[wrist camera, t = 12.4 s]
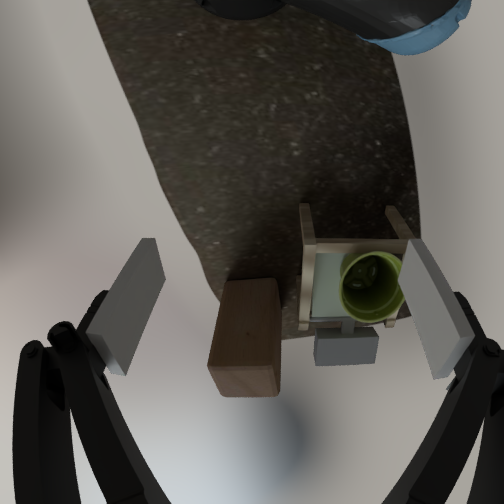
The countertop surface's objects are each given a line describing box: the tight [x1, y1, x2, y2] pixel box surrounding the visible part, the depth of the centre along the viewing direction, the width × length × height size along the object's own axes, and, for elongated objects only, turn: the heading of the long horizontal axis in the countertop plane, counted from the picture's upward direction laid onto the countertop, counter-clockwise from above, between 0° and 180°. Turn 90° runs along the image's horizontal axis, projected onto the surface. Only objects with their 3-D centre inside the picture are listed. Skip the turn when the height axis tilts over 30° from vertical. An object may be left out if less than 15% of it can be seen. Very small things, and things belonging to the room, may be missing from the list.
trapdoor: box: [310, 253, 391, 366], centre depth 46 cm, size 20×12×4 cm, turn 2°
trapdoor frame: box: [296, 203, 416, 330], centre depth 47 cm, size 16×16×12 cm
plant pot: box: [339, 251, 405, 322], centre depth 40 cm, size 9×9×9 cm
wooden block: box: [207, 277, 282, 397], centre depth 52 cm, size 10×10×20 cm
